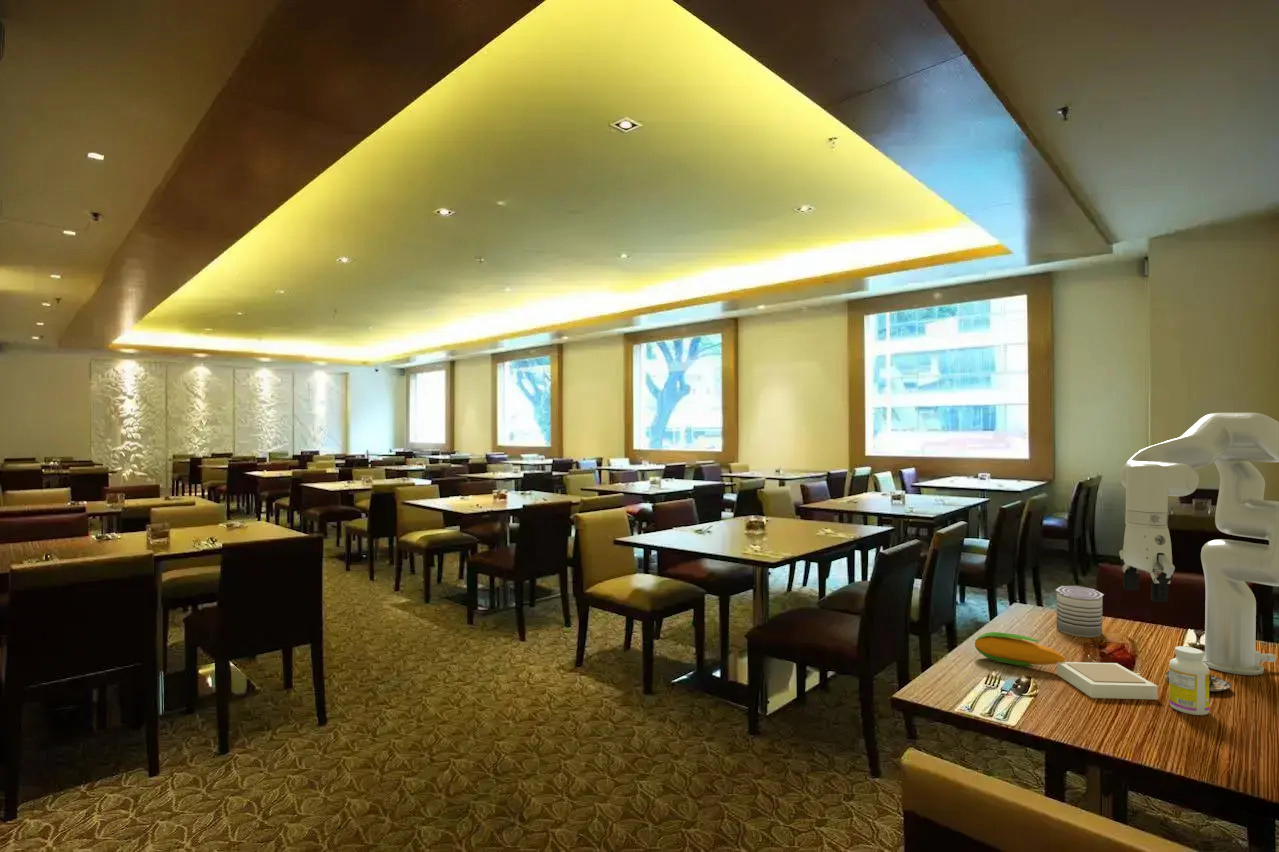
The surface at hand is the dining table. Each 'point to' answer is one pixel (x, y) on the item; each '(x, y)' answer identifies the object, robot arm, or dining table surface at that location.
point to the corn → (1016, 650)
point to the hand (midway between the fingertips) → (1144, 595)
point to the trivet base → (1106, 680)
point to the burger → (1212, 683)
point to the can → (1079, 611)
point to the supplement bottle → (1189, 682)
